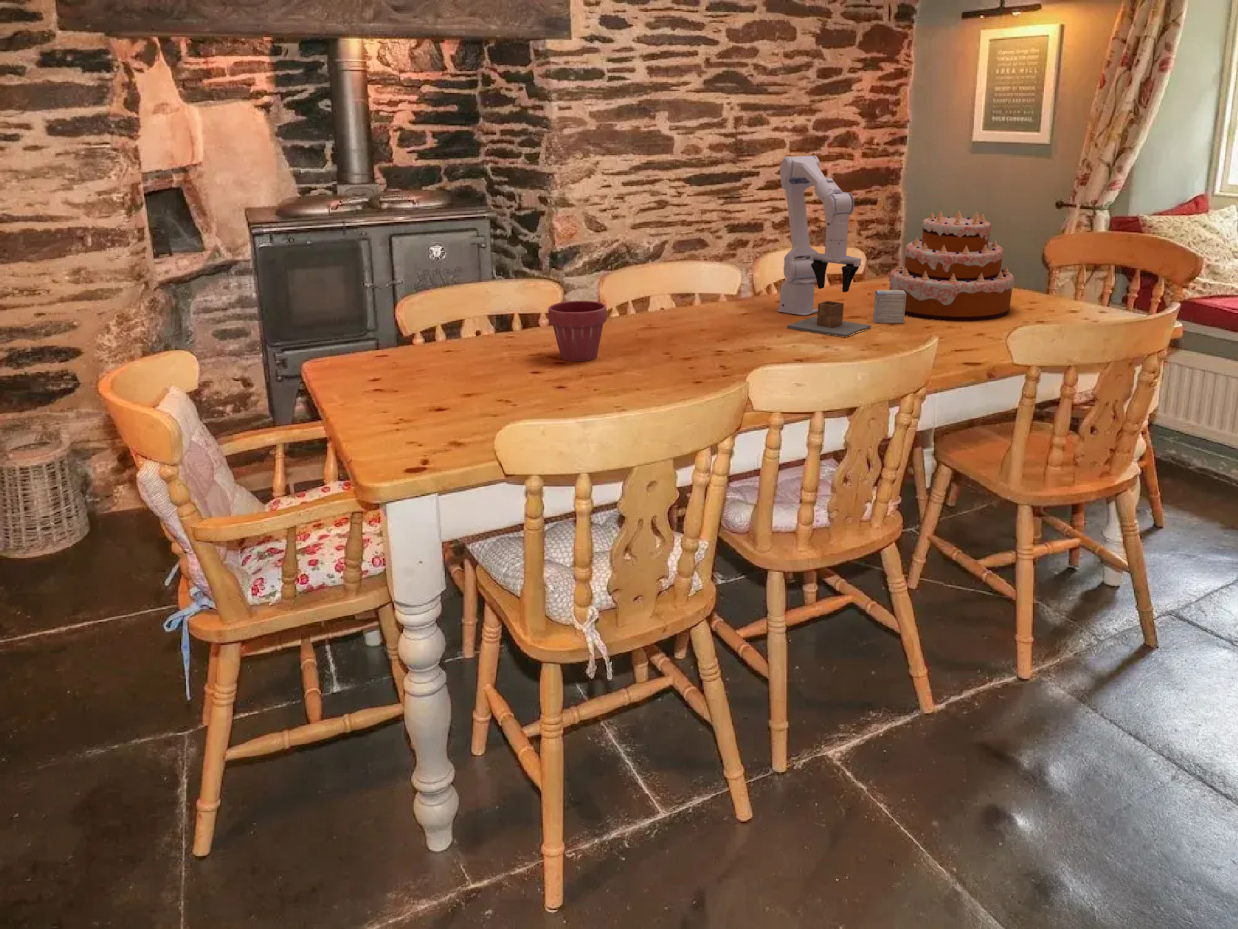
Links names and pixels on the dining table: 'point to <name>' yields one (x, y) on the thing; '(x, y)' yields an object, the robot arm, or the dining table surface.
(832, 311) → the walnut collar
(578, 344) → the plant pot
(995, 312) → the cake
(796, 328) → the pin board
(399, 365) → the dining table surface
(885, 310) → the medicine box
